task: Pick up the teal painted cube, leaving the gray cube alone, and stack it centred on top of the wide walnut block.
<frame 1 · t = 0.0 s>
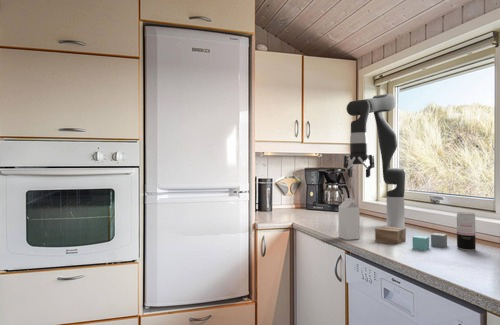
hand: (358, 177, 164), 29 cm above the worktop, fingers open, 8 cm apart
walnut base block: (390, 241, 160), on the worktop
white and black canister: (466, 249, 145), on the worktop
milk carton: (349, 238, 167), on the worktop
gray cube: (439, 245, 151), on the worktop
teal cube: (420, 248, 146), on the worktop
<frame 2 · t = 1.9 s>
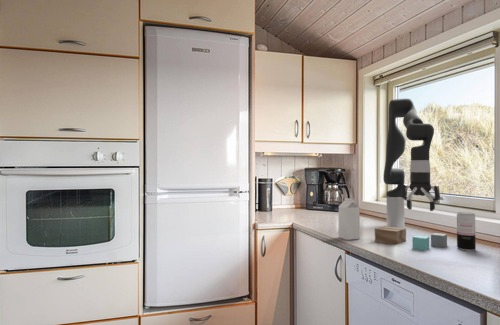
hand: (420, 210, 146), 16 cm above the worktop, fingers open, 8 cm apart
nothing on the worktop moved.
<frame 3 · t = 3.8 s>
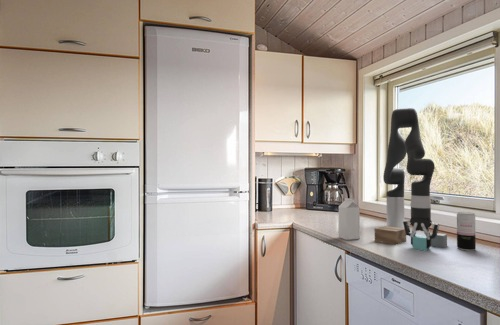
hand: (420, 246, 146), 1 cm above the worktop, fingers closed on teal cube, 5 cm apart
teal cube: (421, 248, 146), on the worktop, touching gripper
everything else where it was.
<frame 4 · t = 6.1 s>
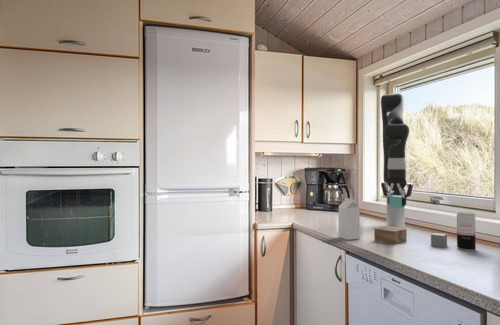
hand: (397, 205, 158), 17 cm above the worktop, fingers closed on teal cube, 5 cm apart
teal cube: (397, 207, 158), point 16 cm above the worktop, touching gripper
everything else where it was.
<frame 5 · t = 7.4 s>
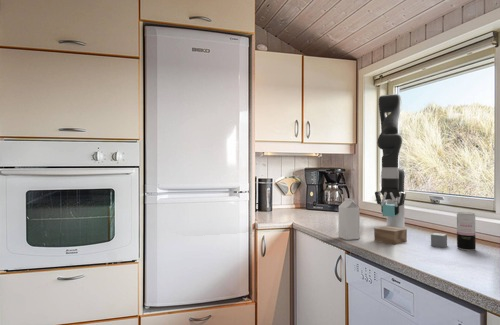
hand: (390, 214, 161), 12 cm above the worktop, fingers closed on teal cube, 5 cm apart
teal cube: (390, 215, 161), point 12 cm above the worktop, touching gripper
everything else where it was.
when the fingers open (8 cm above the worktop, at t = 8.6 s): teal cube drops 2 cm, resting on walnut base block.
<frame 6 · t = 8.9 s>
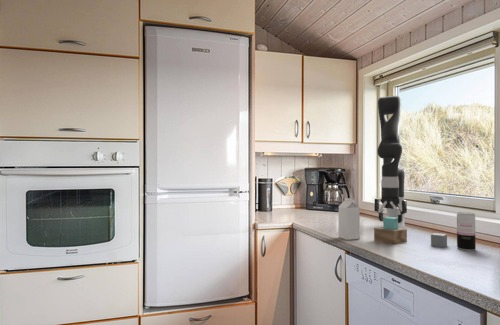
hand: (390, 221, 161), 9 cm above the worktop, fingers open, 8 cm apart
walnut base block: (390, 241, 160), on the worktop, touching teal cube
teal cube: (390, 228, 161), point 6 cm above the worktop, touching walnut base block
everything else where it was.
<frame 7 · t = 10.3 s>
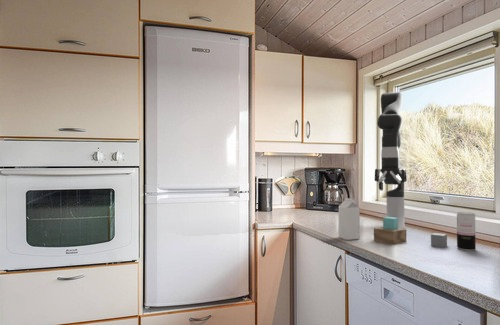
hand: (390, 190, 166), 23 cm above the worktop, fingers open, 8 cm apart
nothing on the worktop moved.
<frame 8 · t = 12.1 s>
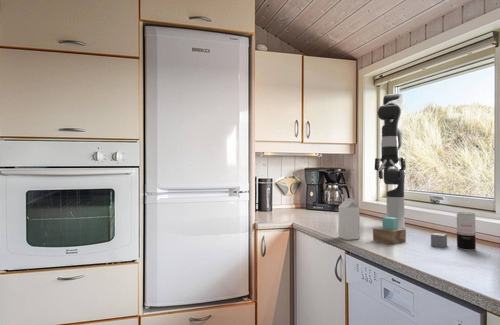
hand: (389, 179, 171), 28 cm above the worktop, fingers open, 8 cm apart
walnut base block: (389, 241, 160), on the worktop
teal cube: (390, 228, 160), point 6 cm above the worktop
everything else where it was.
at the end: teal cube 0.5 cm off-centre on the walnut base block, point 6.0 cm above the walnut base block's base; teal cube tilted 0°; gray cube moved 0.1 cm from its start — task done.
